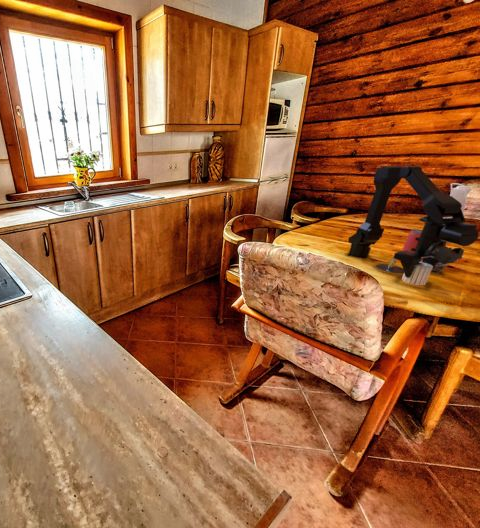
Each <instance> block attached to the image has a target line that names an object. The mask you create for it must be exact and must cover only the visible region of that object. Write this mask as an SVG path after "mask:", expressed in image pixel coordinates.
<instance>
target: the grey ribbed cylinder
mask: <svg viewBox="0 0 480 528" xmlns="http://www.w3.org/2000/svg"><path fill="white" fill-rule="evenodd" d="M419 263H422V264H421V265H418V266H416V267H415V269H414V271H413V273H412V274H411V276H410V277H409V278H407V277H405V273H402V274H403V275H402V277H401V280H402V281H403V282H404V283H407V284H410V285H414V286H425V285H426V284H427V281H428V279H429V277H430V274H431V270H432V268H433V266H432V265H430V264H428V263H424V262H422V261H420V262H419Z"/></svg>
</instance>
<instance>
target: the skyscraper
mask: <svg viewBox="0 0 480 528" xmlns="http://www.w3.org/2000/svg"><path fill="white" fill-rule="evenodd" d="M453 185H457V186H456V187H453ZM472 190H473V187H472V186H468V185H464V184H462V183H457V182H452V183H450V194H449V196H452V197H453V198H455V199H456V200H457V201H459V202H460V203H461V205H462V207H461V210H462V212H463V213H464V212H465V209H466V206H467V199H468V195H469V193H470V192H471V191H472ZM444 218H453V217H444ZM446 243H449V242H448V241H446Z"/></svg>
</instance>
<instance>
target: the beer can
mask: <svg viewBox="0 0 480 528" xmlns="http://www.w3.org/2000/svg"><path fill="white" fill-rule="evenodd" d="M422 230H423V229H416V228H413V229H411V230H410V232H409V233H408V234H407V236H406V239H405V242H404V244H403V247H402V250H401V251H409V252H412V253H415V252H414V251H411V249H412V248H416V245H417V242H418V241H417V240H415V239H416V237H420V235H421V232H422Z"/></svg>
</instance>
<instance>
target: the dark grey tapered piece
mask: <svg viewBox="0 0 480 528" xmlns="http://www.w3.org/2000/svg"><path fill="white" fill-rule="evenodd" d="M447 266H448V264H442V263H438V264H437V265H436V266H435V267H434V268H433V269H432V270H431V272H430V274H431V273H432V274H441V273H442V272H441V271H443V270H444V269H445V268H446V267H447Z"/></svg>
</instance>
